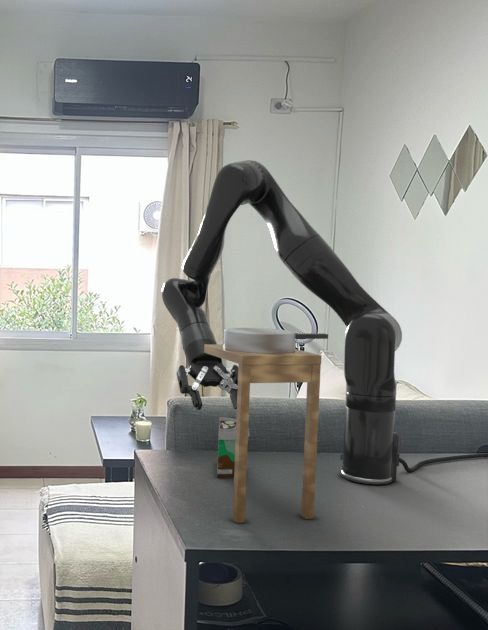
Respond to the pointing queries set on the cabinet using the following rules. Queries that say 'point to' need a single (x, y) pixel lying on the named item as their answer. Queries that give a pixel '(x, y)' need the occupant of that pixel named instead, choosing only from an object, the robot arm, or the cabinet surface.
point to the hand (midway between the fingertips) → (218, 407)
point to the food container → (226, 447)
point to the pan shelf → (271, 367)
